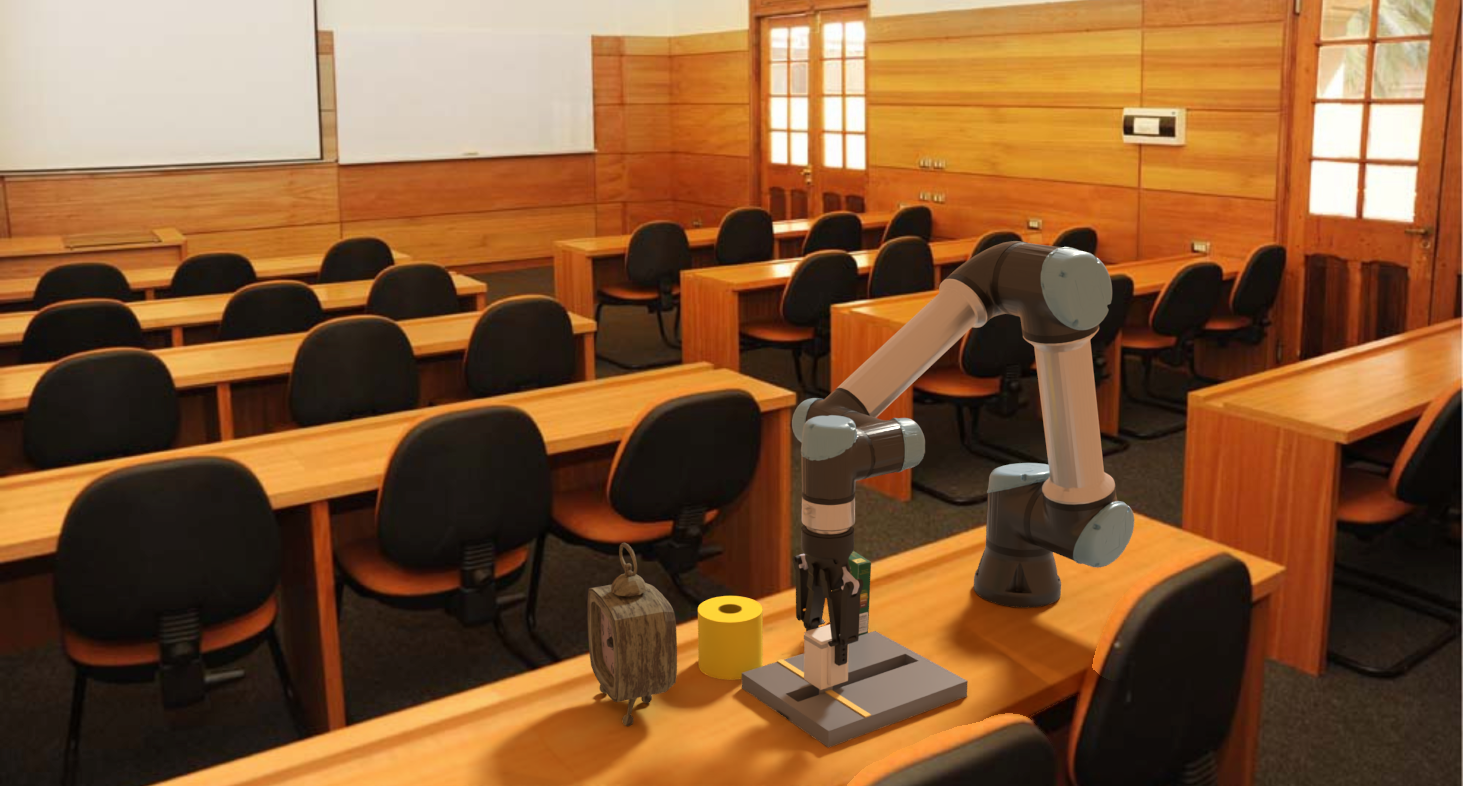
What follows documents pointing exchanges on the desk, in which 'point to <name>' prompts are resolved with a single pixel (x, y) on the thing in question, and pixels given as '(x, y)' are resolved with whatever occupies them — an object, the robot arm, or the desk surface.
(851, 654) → the fader console
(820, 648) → the fader knob
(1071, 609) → the desk surface
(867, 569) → the coffee box
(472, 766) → the desk surface
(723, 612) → the yellow toilet paper roll
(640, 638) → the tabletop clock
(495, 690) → the desk surface
